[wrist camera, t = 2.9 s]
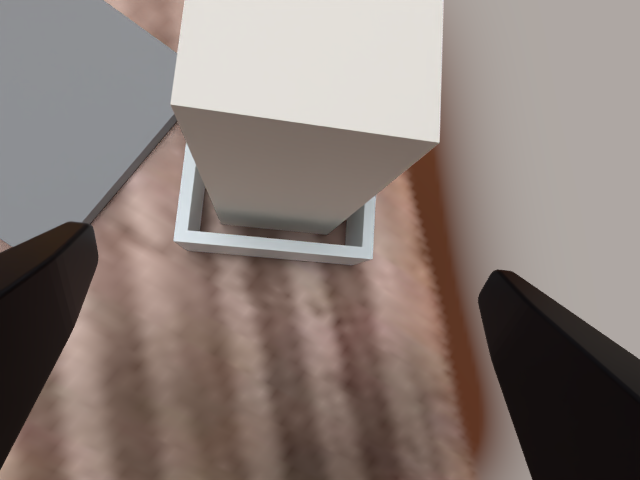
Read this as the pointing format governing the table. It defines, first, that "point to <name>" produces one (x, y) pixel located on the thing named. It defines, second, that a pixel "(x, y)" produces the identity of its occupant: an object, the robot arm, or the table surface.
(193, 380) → the table surface
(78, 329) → the table surface
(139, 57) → the mat
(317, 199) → the tall block
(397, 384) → the table surface
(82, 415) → the table surface
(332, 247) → the sleeve
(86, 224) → the robot arm
